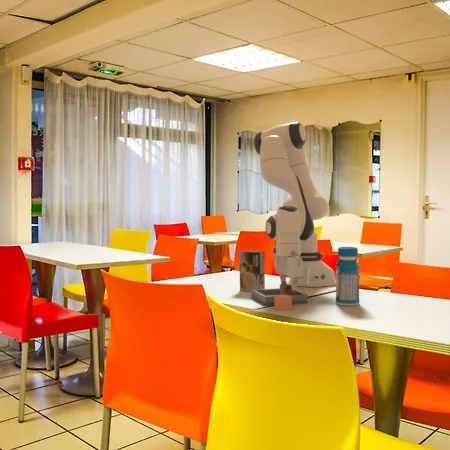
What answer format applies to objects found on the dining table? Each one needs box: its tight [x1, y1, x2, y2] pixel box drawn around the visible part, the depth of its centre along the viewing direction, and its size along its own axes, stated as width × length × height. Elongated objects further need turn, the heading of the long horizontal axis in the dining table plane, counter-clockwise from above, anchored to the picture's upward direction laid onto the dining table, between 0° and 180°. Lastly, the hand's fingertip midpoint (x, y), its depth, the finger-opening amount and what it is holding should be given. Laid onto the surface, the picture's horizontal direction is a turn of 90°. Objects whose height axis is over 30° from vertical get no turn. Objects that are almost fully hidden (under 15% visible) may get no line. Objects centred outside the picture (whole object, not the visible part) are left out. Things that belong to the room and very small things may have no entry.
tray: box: [251, 287, 309, 306], centre depth 198 cm, size 16×16×3 cm
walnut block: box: [279, 283, 297, 295], centre depth 199 cm, size 4×4×4 cm
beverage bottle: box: [334, 246, 361, 307], centre depth 190 cm, size 8×8×20 cm
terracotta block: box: [273, 295, 293, 311], centre depth 183 cm, size 4×4×4 cm
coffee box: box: [238, 250, 266, 293], centre depth 219 cm, size 9×6×16 cm
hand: (288, 287), depth 199 cm, fingers open, 8 cm apart
